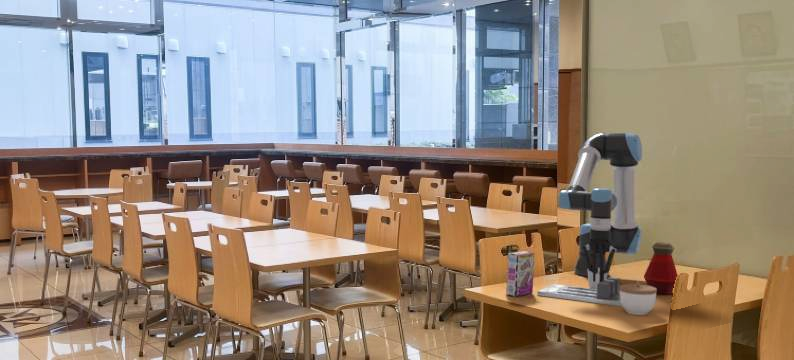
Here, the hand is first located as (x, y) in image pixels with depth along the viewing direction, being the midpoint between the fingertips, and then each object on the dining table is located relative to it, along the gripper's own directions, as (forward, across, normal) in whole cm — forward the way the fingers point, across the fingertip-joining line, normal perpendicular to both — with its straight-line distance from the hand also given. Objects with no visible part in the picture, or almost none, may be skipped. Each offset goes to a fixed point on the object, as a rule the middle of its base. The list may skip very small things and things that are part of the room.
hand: (598, 290), depth 299 cm
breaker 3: (+1, +4, +6) cm, 7 cm away
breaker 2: (+1, +4, 0) cm, 4 cm away
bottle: (+3, +17, +27) cm, 32 cm away
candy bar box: (+3, -27, -12) cm, 30 cm away
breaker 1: (+1, +4, -6) cm, 7 cm away
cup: (+3, -6, +18) cm, 19 cm away
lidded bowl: (+3, +19, -16) cm, 25 cm away
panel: (+3, -4, 0) cm, 5 cm away
